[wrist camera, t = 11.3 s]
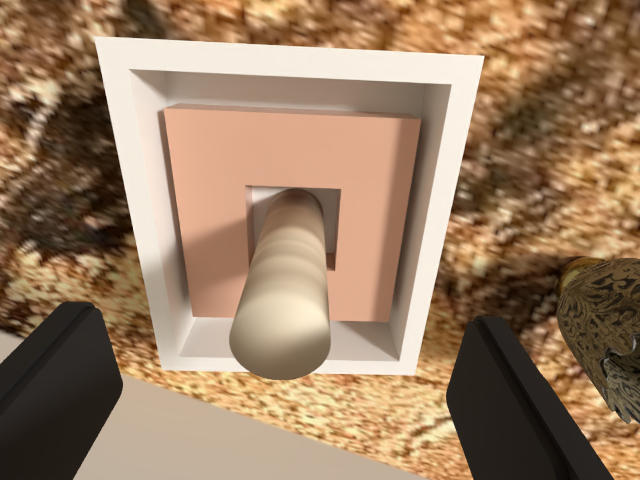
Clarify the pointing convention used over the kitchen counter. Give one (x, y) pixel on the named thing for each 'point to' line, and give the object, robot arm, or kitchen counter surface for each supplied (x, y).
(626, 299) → the cup
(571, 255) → the kitchen counter surface
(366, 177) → the bored plate
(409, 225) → the open-top box
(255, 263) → the birch peg
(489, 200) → the kitchen counter surface
